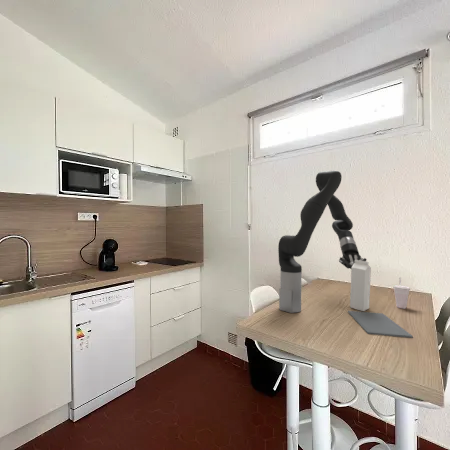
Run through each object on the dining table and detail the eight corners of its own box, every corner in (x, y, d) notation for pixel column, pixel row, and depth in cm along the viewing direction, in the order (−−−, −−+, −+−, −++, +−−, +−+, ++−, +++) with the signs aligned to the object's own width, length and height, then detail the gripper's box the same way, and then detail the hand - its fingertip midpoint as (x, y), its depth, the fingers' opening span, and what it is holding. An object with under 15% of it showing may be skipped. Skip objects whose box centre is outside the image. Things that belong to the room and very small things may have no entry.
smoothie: (393, 304, 117) (393, 275, 118) (410, 307, 113) (410, 277, 114) (392, 307, 113) (392, 277, 113) (409, 310, 108) (409, 279, 109)
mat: (412, 337, 81) (412, 336, 81) (367, 333, 84) (367, 332, 84) (382, 314, 103) (382, 313, 103) (347, 312, 105) (347, 310, 105)
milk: (363, 311, 106) (365, 263, 104) (349, 307, 111) (351, 260, 109) (369, 308, 110) (371, 261, 108) (355, 303, 115) (357, 258, 113)
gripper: (336, 242, 125) (343, 269, 112) (364, 242, 122) (374, 271, 110) (333, 251, 130) (340, 278, 118) (360, 252, 127) (369, 280, 115)
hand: (356, 274), depth 114 cm, fingers closed
